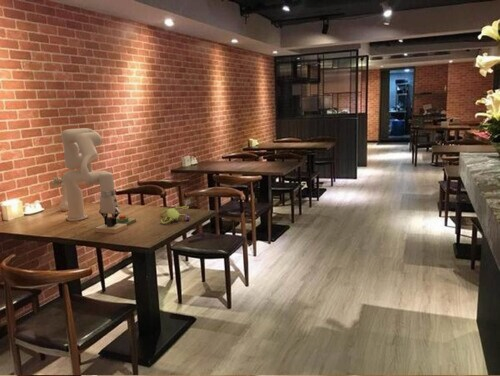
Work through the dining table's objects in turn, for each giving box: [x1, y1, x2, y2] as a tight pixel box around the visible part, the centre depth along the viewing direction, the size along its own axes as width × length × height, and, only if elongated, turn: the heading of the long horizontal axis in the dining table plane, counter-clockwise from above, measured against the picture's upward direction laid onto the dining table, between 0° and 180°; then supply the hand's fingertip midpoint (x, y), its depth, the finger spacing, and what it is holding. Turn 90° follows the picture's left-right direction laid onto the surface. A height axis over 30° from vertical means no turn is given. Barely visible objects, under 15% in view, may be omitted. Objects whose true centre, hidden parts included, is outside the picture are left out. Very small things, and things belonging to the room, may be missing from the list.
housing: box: [116, 216, 137, 227], centre depth 259 cm, size 12×10×4 cm
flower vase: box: [49, 175, 69, 212], centre depth 299 cm, size 13×18×25 cm
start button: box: [118, 214, 127, 219], centre depth 259 cm, size 4×4×2 cm
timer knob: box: [106, 216, 115, 227], centre depth 245 cm, size 4×4×5 cm
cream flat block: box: [94, 223, 128, 234], centre depth 246 cm, size 14×11×3 cm
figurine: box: [160, 205, 191, 225], centre depth 267 cm, size 18×27×6 cm
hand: (110, 224), depth 246 cm, fingers closed on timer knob, 4 cm apart
